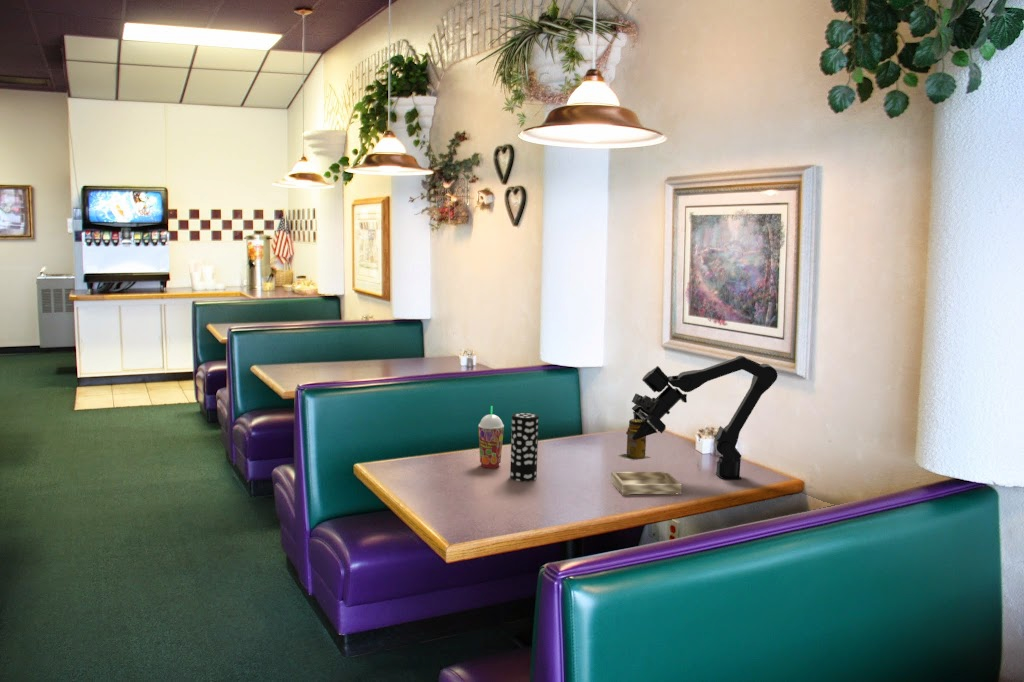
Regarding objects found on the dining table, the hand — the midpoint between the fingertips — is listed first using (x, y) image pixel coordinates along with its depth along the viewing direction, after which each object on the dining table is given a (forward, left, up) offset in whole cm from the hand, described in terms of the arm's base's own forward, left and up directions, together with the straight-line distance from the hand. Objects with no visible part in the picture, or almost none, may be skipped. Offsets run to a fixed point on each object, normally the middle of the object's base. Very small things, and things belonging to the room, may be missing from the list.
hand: (629, 436), depth 279 cm
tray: (-1, +15, -12) cm, 19 cm away
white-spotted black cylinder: (+35, +3, -13) cm, 37 cm away
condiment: (-1, 0, -7) cm, 7 cm away
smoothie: (+44, -11, -13) cm, 47 cm away
